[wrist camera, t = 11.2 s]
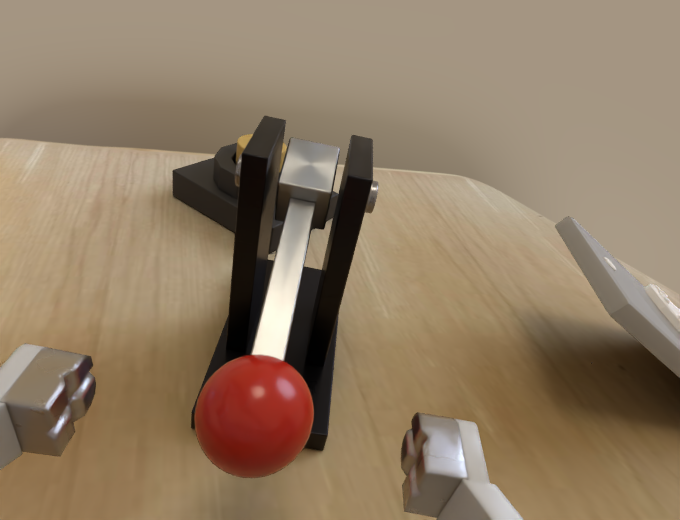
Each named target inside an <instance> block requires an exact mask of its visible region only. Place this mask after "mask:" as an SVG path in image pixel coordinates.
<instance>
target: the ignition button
mask: <svg viewBox="0 0 680 520" xmlns="http://www.w3.org/2000/svg"><path fill="white" fill-rule="evenodd" d="M252 135H253V134H248V135H244V136H241V137H240V138H239V139H238V140H237V152H236V165H237V161H238V158H239V156H240V155H241V154H242V152H243V150H244V149H245V147H246V145H247V144H248V142H249V140H250V139H251V137H252ZM286 150H287V148H286V145H285V144H284V143H283V147H282V154H281V162H280V169H279V172H281V169H282V165H283V161H284V158H285V154H286Z"/></svg>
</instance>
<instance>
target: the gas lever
mask: <svg viewBox="0 0 680 520" xmlns="http://www.w3.org/2000/svg"><path fill="white" fill-rule="evenodd" d="M339 152H340V148H339V147H335V146H330V145H325V144H321V143H316V142H312V141H307V140H302V139H298V138H293V137H291V138H290V140H289V144H288V147H287V151H286V154H285V158H284V161H283V165H282V169H281V172H280V176H279V179H278V185H277V197H276V209H275V220H277V221H282V222H284V223H283V227H282V231H281V235H280V239H279V243H278V247H277V251H276V255H275V259H274V263H273V267H272V271H271V275H270V279H269V283H268V287H267V291H266V295H265V299H264V303H263V307H262V311H261V315H260V319H259V323H258V327H257V331H256V335H255V339H254V343H253V347H252V351H251V355H246V356H242V357H238V358H236V359H233V360H231V361H229V362H227V363H226V364H224V365H223V366H221V367H220V368H219V369H218V370H217V371H215V372H214V373H213V374H212V376H211V377H210V378H209V379H208V380H207V382H206V383H205V385H204V386H203V388H202V390H201V392H200V395H199V397H198V400H197V404H196V408H195V416H194V419H195V431H196V436H197V439H198V442H199V444H200V446H201V448H202V450H203V452H204V453H205V455H206V456H207V458H208V459H209V460H210V461H211V462H212V463H213V464H214V465H215V466H217V467H218V468H219V469H221V470H223V471H224V472H226V473H228V474H231V475H233V476H237V477H242V478H259V477H265V476H268V475H271V474H274V473H276V472H278V471H280V470H282V469H283V468H285V467H286V466H288V465H289V464H290V463H291V462H292V461H293V460H294V459H295V458H296V457H297V456H298V455H299V454H300V452H301V451H302V450H303V448H304V447H305V445H306V443H307V441H308V439H309V436H310V433H311V430H312V426H313V419H314V405H313V400H312V396H311V393H310V390H309V387H308V385H307V383H306V382H305V380H304V378H303V377H302V376H301V375H300V373H299V372H298V371H297V370H296V369H295V368H294V367H292V366H291V365H290V364H288V363H287V362H285V356H286V351H287V347H288V342H289V337H290V332H291V327H292V322H293V317H294V312H295V307H296V302H297V297H298V292H299V287H300V282H301V277H302V272H303V267H304V262H305V257H306V253H307V248H308V243H309V238H310V233H311V228H317V229H324V228H325V223H326V219H327V214H328V210H329V205H330V201H331V196H332V192H333V186H334V180H335V175H336V169H337V164H338V157H339Z"/></svg>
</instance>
